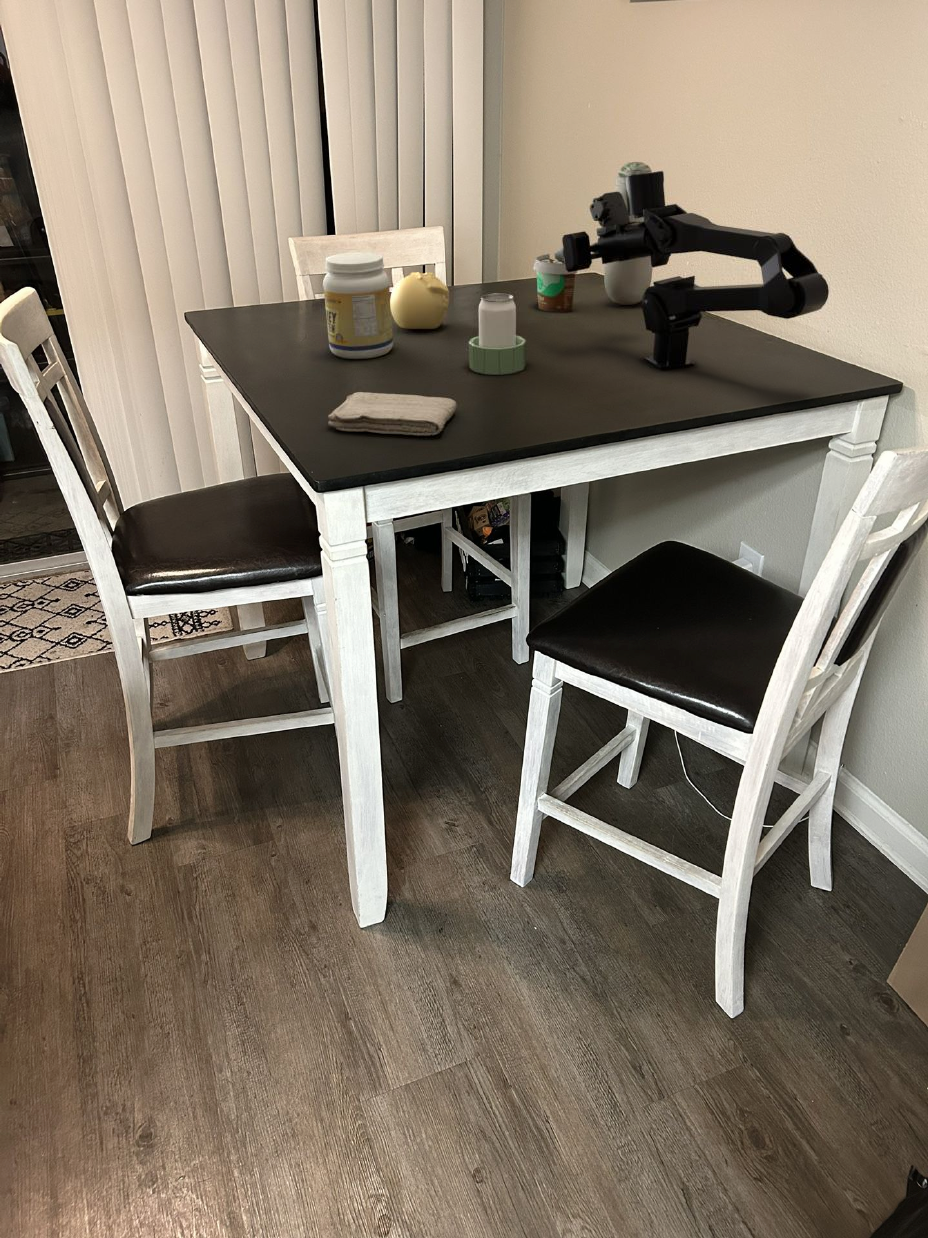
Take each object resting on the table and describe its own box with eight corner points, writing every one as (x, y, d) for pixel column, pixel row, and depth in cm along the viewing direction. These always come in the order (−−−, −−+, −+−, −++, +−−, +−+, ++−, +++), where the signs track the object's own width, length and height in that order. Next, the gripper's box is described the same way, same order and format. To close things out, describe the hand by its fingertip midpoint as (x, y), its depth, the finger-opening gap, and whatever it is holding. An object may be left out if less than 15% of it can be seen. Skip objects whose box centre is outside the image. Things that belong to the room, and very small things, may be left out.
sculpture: (458, 330, 186) (456, 274, 180) (402, 337, 182) (398, 280, 176) (438, 317, 195) (436, 264, 189) (384, 324, 191) (381, 269, 185)
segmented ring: (532, 370, 161) (533, 345, 159) (479, 377, 159) (479, 351, 157) (514, 356, 169) (514, 331, 167) (463, 361, 167) (462, 336, 165)
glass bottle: (595, 301, 204) (602, 160, 189) (637, 296, 206) (647, 158, 191) (614, 311, 196) (623, 165, 181) (657, 306, 198) (670, 162, 183)
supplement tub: (323, 347, 177) (313, 254, 168) (383, 339, 181) (376, 248, 172) (338, 363, 168) (329, 266, 159) (401, 355, 171) (396, 259, 162)
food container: (522, 303, 203) (523, 256, 198) (547, 300, 205) (548, 253, 200) (550, 315, 194) (551, 266, 188) (575, 312, 196) (577, 262, 190)
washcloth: (351, 405, 148) (349, 387, 146) (459, 411, 144) (458, 392, 142) (325, 432, 138) (323, 412, 136) (441, 439, 134) (440, 418, 133)
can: (516, 360, 167) (516, 292, 160) (514, 371, 161) (514, 301, 155) (480, 360, 167) (479, 292, 161) (477, 371, 162) (476, 301, 155)
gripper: (666, 184, 161) (602, 199, 174) (591, 196, 152) (529, 211, 164) (672, 252, 165) (609, 261, 178) (599, 267, 156) (538, 276, 168)
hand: (573, 251), depth 172 cm, fingers open, 9 cm apart
